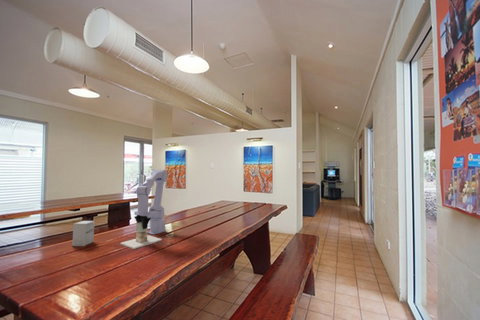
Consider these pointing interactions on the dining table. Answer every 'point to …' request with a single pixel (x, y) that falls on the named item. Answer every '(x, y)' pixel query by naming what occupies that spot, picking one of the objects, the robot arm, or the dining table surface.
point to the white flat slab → (135, 244)
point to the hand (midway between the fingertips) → (142, 228)
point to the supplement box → (83, 233)
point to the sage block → (140, 227)
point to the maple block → (141, 236)
